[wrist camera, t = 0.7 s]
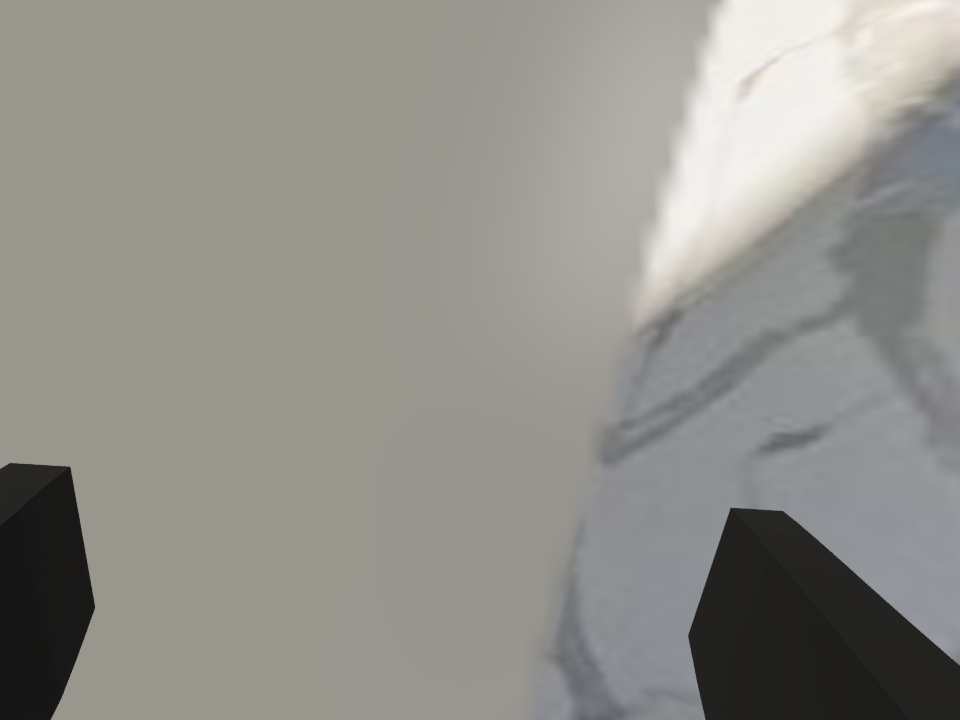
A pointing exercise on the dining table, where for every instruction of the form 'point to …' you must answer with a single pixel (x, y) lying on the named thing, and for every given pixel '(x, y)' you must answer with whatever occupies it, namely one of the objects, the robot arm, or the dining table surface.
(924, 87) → the dining table surface
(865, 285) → the dining table surface
